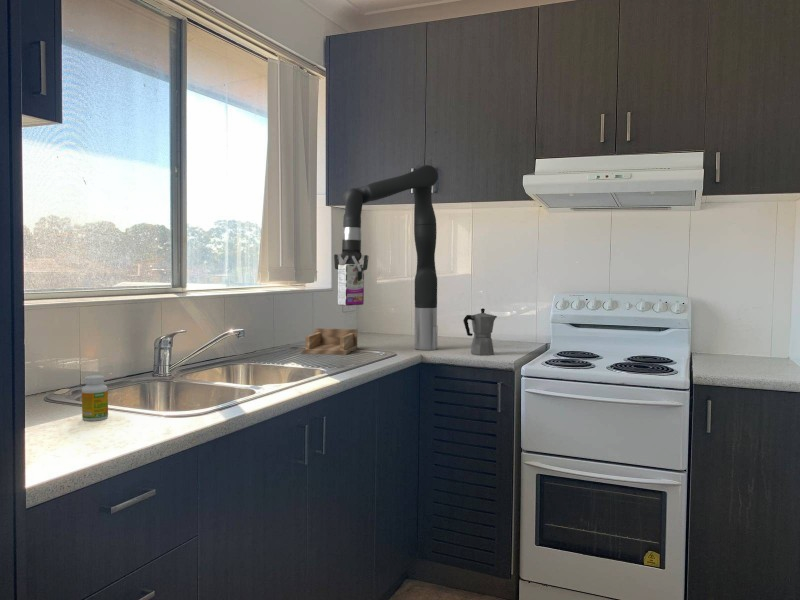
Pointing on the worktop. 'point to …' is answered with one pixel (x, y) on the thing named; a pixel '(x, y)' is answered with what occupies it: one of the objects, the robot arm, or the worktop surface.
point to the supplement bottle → (94, 399)
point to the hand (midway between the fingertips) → (350, 280)
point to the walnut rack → (331, 341)
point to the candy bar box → (350, 285)
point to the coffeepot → (481, 332)
